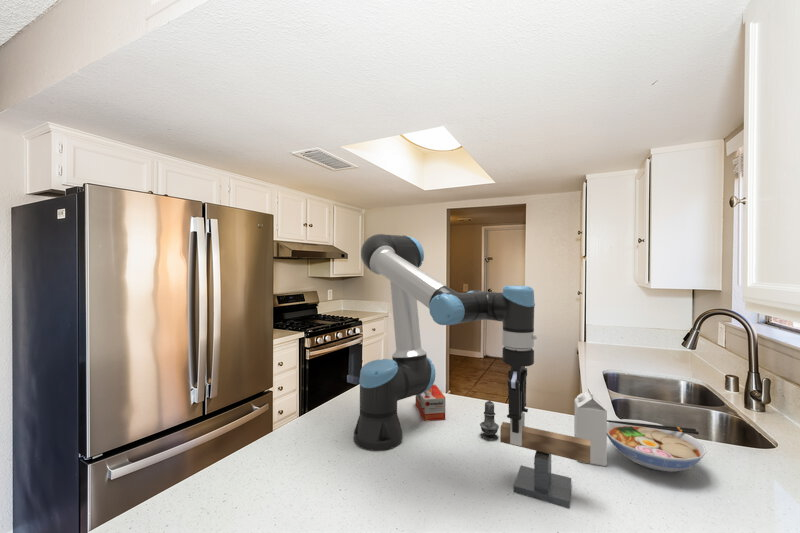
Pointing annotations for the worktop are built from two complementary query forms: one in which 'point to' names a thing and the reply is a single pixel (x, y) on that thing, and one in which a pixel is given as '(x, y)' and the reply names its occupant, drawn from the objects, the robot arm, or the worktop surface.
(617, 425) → the ramen bowl
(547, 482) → the ridge stand
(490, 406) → the grey stone chess piece
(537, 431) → the walnut beam
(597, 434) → the milk carton
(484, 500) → the worktop surface
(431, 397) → the medicine box
